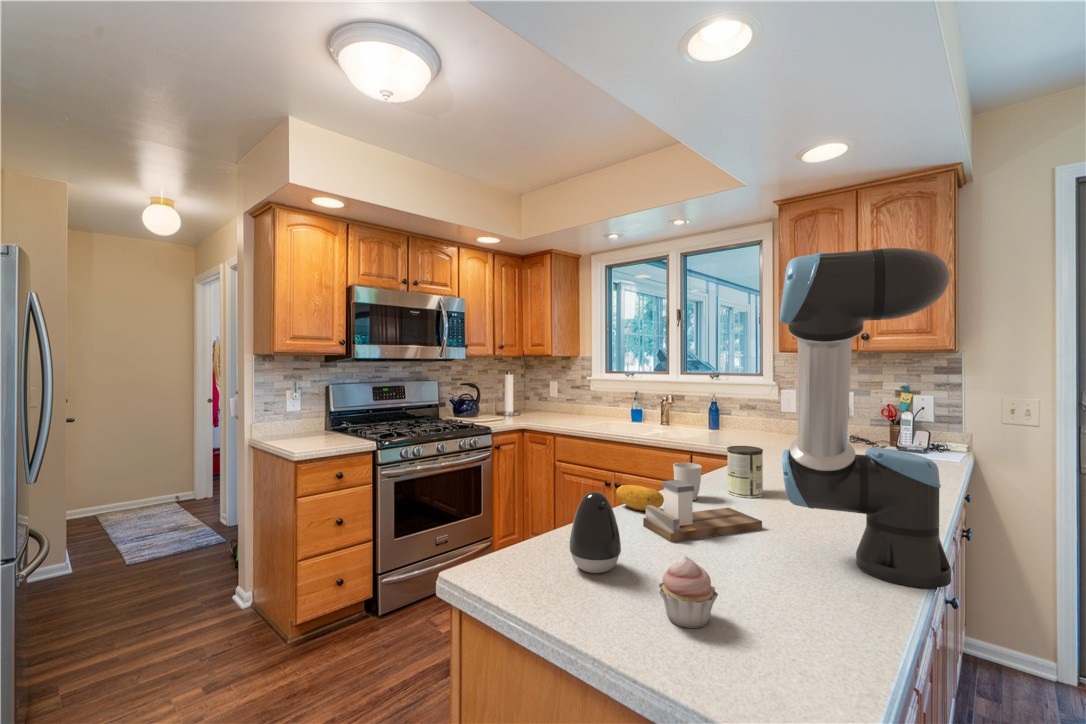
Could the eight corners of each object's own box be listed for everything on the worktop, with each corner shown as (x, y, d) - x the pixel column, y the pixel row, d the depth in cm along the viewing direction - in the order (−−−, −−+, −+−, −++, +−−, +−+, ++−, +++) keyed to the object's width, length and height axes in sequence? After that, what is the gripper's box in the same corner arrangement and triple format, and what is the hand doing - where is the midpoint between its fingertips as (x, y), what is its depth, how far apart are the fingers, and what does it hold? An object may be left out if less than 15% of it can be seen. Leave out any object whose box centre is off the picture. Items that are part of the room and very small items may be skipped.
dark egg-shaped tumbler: (579, 582, 94) (579, 501, 94) (563, 561, 104) (562, 487, 104) (630, 576, 97) (629, 496, 97) (608, 555, 107) (608, 484, 107)
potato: (652, 518, 133) (652, 492, 132) (611, 507, 142) (611, 483, 142) (669, 511, 138) (669, 486, 138) (628, 501, 148) (628, 478, 148)
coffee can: (730, 488, 163) (730, 444, 163) (765, 492, 158) (765, 447, 158) (723, 495, 154) (723, 449, 154) (759, 500, 149) (759, 452, 149)
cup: (698, 495, 154) (698, 462, 154) (704, 503, 146) (704, 468, 146) (671, 494, 155) (671, 462, 155) (675, 502, 147) (675, 468, 147)
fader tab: (678, 516, 126) (678, 479, 126) (694, 524, 120) (694, 485, 120) (662, 518, 125) (662, 481, 124) (677, 526, 118) (677, 487, 118)
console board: (728, 515, 135) (728, 496, 135) (762, 529, 123) (762, 508, 123) (643, 525, 126) (643, 505, 126) (670, 542, 115) (670, 520, 115)
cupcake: (681, 599, 87) (681, 541, 87) (729, 621, 80) (729, 558, 80) (644, 615, 82) (644, 554, 82) (693, 641, 74) (692, 573, 74)
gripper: (845, 313, 122) (844, 410, 122) (825, 318, 135) (824, 406, 135) (811, 313, 123) (811, 410, 123) (794, 318, 136) (794, 406, 136)
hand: (818, 408), depth 129 cm, fingers closed
